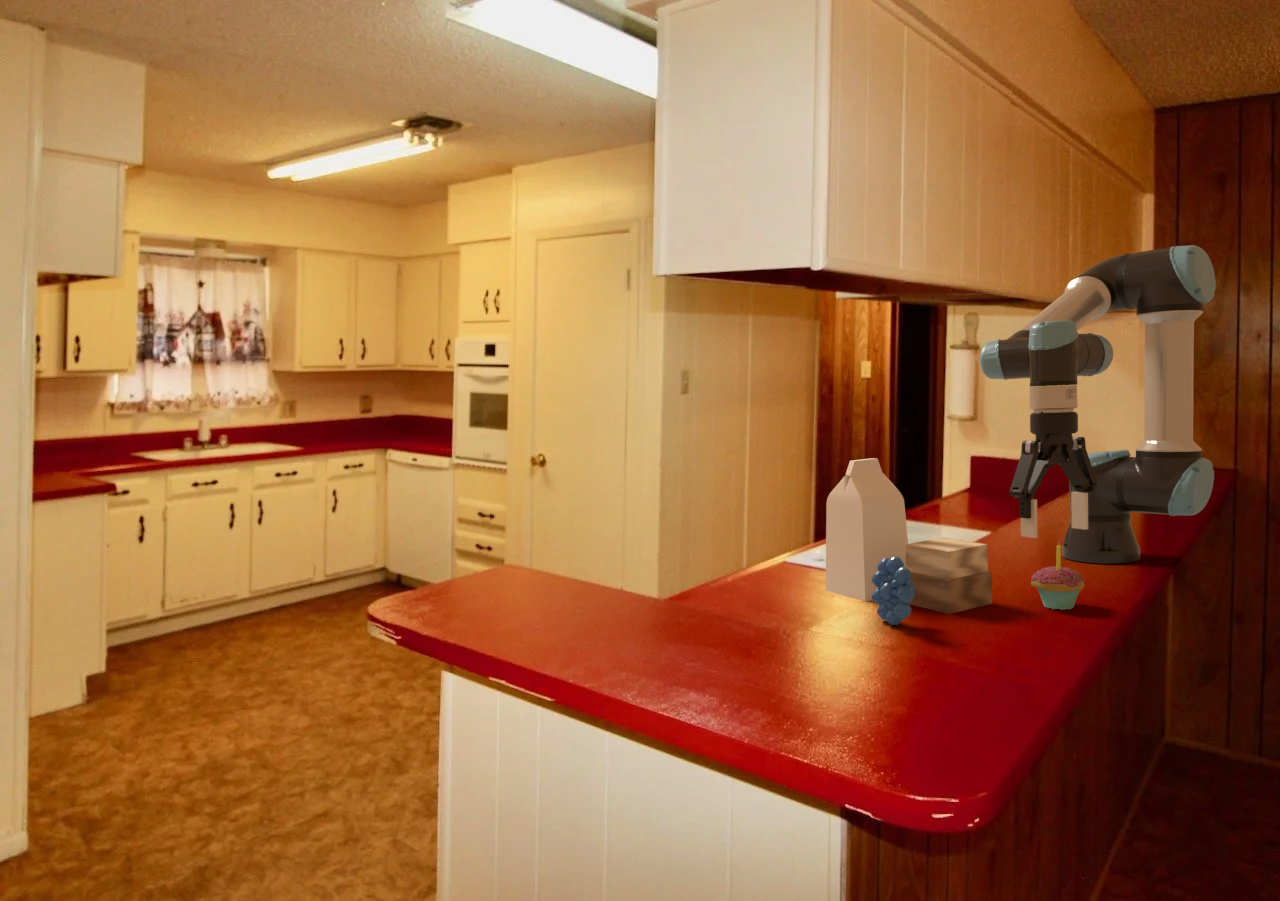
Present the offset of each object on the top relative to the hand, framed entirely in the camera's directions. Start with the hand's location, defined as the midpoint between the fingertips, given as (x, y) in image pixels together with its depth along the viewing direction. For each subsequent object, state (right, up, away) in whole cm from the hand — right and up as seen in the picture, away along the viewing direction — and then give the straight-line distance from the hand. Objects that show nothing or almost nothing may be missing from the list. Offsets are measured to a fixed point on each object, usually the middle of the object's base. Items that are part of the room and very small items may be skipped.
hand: (1055, 532), depth 155 cm
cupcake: (+1, -13, +1) cm, 13 cm away
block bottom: (-16, -14, +8) cm, 23 cm away
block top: (-16, -8, +7) cm, 20 cm away
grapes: (-29, -15, -5) cm, 33 cm away
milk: (-27, -14, +20) cm, 36 cm away
